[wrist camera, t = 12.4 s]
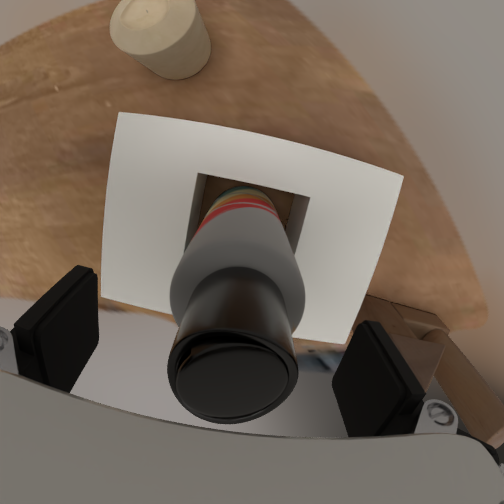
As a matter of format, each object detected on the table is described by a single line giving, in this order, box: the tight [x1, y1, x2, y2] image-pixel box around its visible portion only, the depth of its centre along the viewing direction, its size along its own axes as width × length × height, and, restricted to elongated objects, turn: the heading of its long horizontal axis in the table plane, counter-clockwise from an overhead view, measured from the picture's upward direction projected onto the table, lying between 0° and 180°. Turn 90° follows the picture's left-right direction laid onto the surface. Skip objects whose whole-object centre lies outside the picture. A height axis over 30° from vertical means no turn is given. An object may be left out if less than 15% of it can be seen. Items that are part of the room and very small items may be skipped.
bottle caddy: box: [101, 112, 404, 344], centre depth 24 cm, size 20×14×6 cm
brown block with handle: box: [351, 295, 504, 449], centre depth 22 cm, size 4×11×18 cm, turn 72°
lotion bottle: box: [167, 186, 305, 424], centre depth 17 cm, size 6×6×20 cm
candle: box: [110, 0, 211, 80], centre depth 17 cm, size 6×6×10 cm
